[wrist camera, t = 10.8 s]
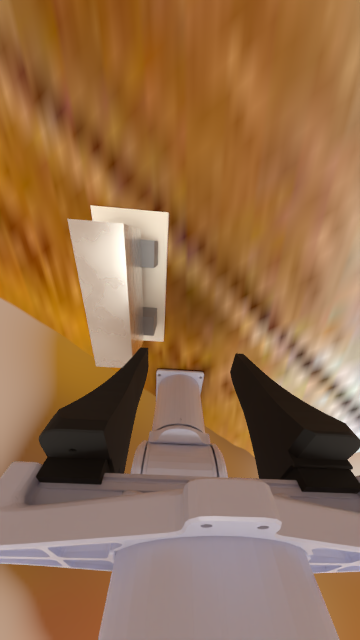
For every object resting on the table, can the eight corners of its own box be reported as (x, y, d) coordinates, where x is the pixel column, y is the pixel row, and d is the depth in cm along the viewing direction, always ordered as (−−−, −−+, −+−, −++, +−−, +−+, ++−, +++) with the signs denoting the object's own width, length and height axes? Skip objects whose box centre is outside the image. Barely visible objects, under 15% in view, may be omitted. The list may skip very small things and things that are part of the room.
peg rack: (164, 338, 24) (161, 354, 21) (111, 334, 24) (99, 350, 21) (169, 214, 18) (166, 206, 14) (95, 207, 17) (72, 197, 14)
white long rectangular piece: (143, 340, 20) (132, 368, 15) (115, 338, 20) (96, 366, 15) (140, 229, 15) (123, 223, 10) (102, 226, 15) (67, 218, 10)
